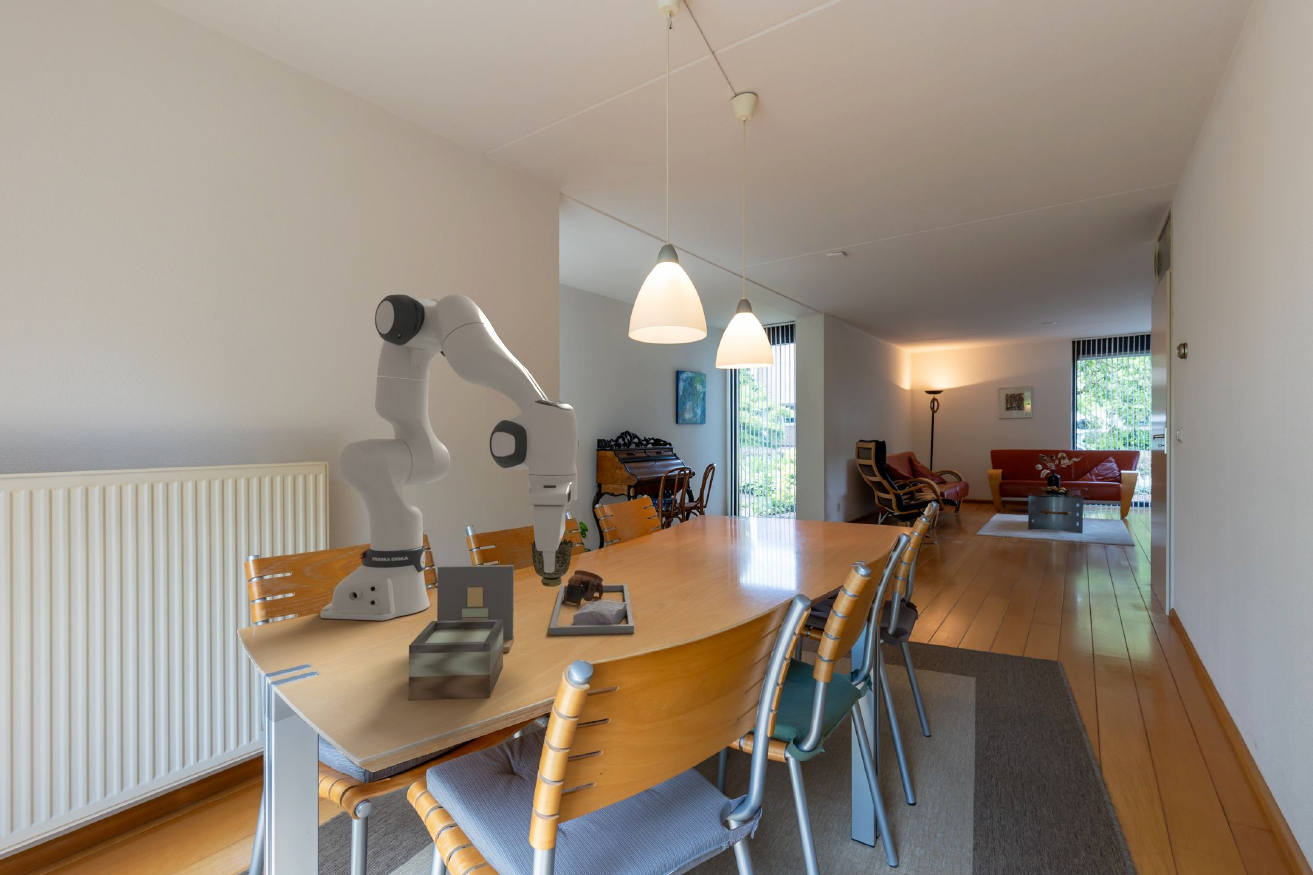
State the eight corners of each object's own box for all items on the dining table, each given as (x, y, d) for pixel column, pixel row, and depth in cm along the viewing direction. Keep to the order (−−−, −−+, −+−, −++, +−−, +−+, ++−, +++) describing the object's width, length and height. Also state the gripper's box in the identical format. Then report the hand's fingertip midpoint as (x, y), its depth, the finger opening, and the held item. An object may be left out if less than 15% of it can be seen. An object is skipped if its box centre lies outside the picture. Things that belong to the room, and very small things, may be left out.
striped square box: (408, 699, 90) (408, 645, 90) (431, 668, 102) (431, 620, 102) (489, 697, 91) (490, 643, 91) (502, 666, 103) (503, 619, 103)
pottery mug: (554, 601, 146) (565, 569, 150) (587, 614, 150) (597, 582, 153) (574, 599, 136) (586, 565, 140) (609, 613, 140) (619, 579, 143)
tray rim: (549, 635, 119) (549, 627, 119) (560, 591, 153) (561, 585, 153) (634, 633, 121) (634, 625, 121) (627, 589, 155) (627, 584, 155)
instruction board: (431, 654, 109) (431, 572, 108) (440, 642, 114) (440, 564, 114) (509, 652, 110) (509, 570, 110) (514, 641, 116) (514, 563, 116)
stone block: (571, 638, 123) (617, 631, 122) (567, 614, 124) (612, 608, 122) (588, 622, 135) (630, 616, 133) (584, 601, 135) (626, 595, 134)
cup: (538, 579, 112) (539, 536, 112) (576, 581, 111) (577, 538, 111) (524, 589, 105) (525, 543, 104) (565, 591, 103) (565, 545, 103)
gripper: (540, 484, 118) (539, 554, 118) (527, 495, 97) (526, 580, 97) (573, 484, 118) (572, 554, 118) (566, 496, 98) (565, 580, 98)
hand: (551, 566), depth 108 cm, fingers closed on cup, 7 cm apart
